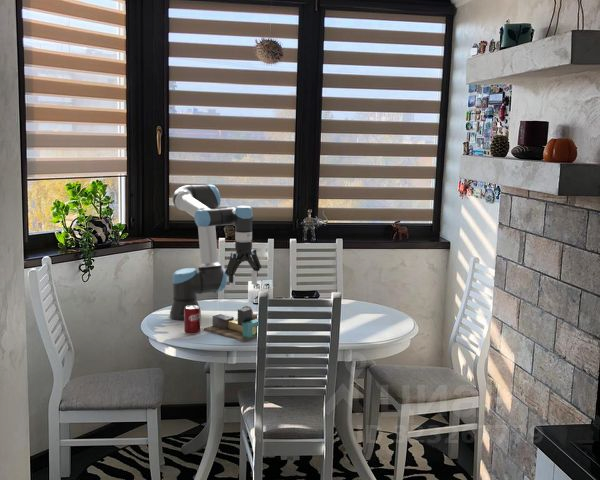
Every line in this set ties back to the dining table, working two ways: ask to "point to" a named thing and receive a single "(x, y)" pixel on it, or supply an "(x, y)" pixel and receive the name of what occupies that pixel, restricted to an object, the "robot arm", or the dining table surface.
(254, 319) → the pipe
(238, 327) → the square head mallet
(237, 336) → the base board
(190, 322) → the soda can
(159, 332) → the dining table surface
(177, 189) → the robot arm
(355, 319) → the dining table surface
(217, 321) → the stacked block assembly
